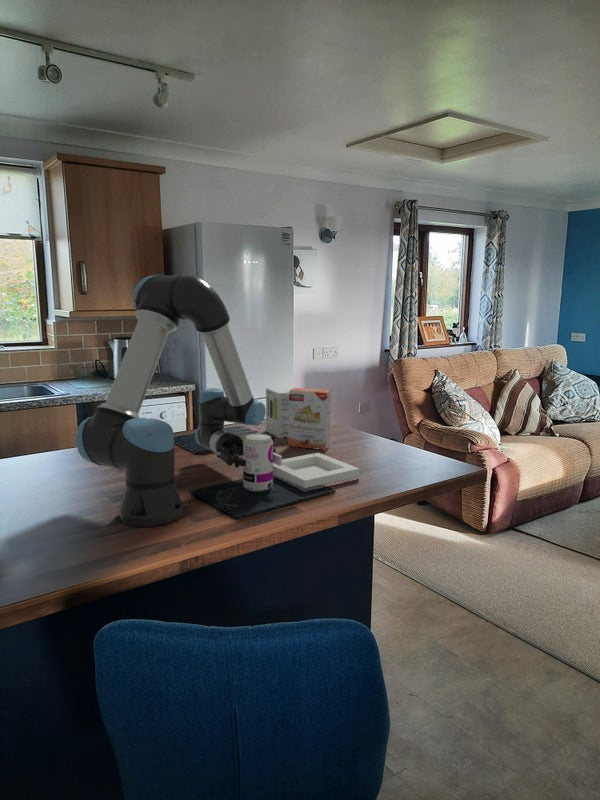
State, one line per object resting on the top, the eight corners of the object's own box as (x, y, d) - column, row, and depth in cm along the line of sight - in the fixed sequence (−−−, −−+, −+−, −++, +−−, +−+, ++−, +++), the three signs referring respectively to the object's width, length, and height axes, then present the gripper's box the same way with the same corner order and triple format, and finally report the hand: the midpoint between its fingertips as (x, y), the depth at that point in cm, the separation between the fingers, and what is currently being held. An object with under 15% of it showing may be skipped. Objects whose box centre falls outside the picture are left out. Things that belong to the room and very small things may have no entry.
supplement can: (274, 484, 164) (274, 433, 161) (270, 494, 156) (270, 441, 153) (246, 482, 165) (246, 432, 162) (240, 492, 156) (240, 440, 154)
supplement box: (264, 431, 226) (265, 387, 223) (294, 427, 232) (295, 385, 229) (279, 438, 214) (279, 393, 211) (309, 435, 220) (310, 390, 217)
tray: (304, 492, 157) (305, 480, 157) (266, 473, 173) (266, 462, 173) (359, 479, 169) (359, 468, 168) (317, 462, 185) (318, 452, 184)
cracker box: (287, 447, 203) (288, 389, 199) (292, 443, 208) (293, 387, 204) (325, 451, 199) (327, 392, 195) (329, 446, 204) (331, 389, 200)
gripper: (256, 451, 180) (298, 470, 162) (195, 462, 167) (233, 483, 149) (256, 428, 178) (298, 444, 160) (195, 437, 166) (233, 456, 148)
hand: (267, 463), depth 155 cm, fingers closed on supplement can, 8 cm apart
